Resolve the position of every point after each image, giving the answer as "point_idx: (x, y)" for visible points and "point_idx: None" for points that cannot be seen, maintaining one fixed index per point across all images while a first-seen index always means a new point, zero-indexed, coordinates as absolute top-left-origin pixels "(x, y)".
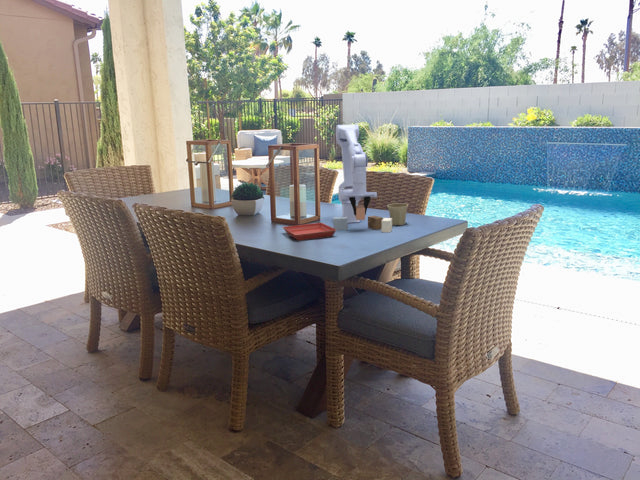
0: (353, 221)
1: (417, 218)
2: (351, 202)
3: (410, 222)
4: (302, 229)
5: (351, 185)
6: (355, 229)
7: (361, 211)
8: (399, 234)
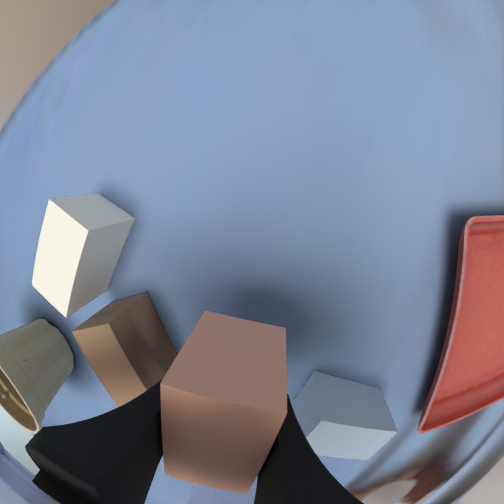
0: None
1: None
2: (354, 499)
3: None
4: (487, 385)
5: None
6: None
7: (222, 367)
8: (78, 131)
